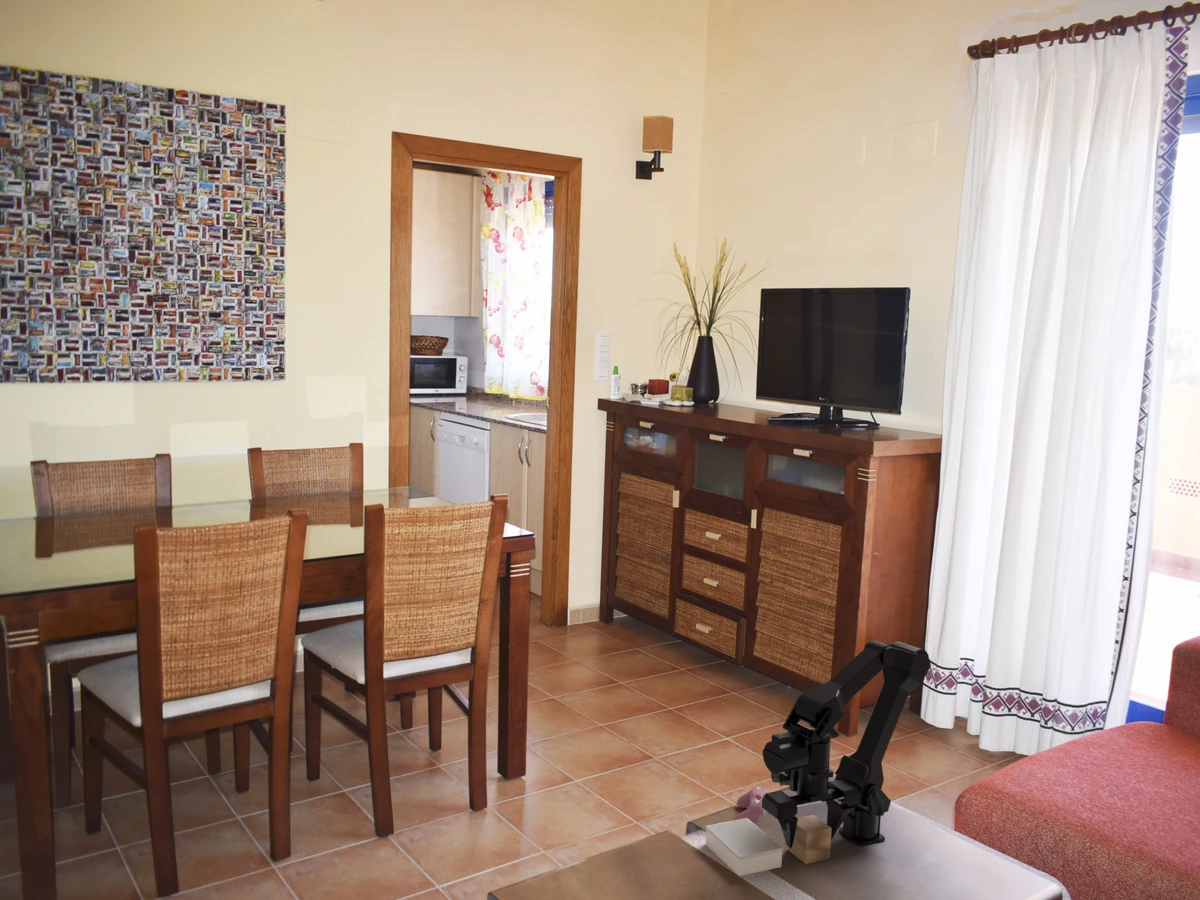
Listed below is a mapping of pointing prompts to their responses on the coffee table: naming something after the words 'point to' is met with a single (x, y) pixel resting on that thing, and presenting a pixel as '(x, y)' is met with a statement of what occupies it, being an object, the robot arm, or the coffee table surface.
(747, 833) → the white rectangular box
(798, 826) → the walnut block
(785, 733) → the robot arm
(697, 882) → the coffee table surface
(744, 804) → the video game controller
